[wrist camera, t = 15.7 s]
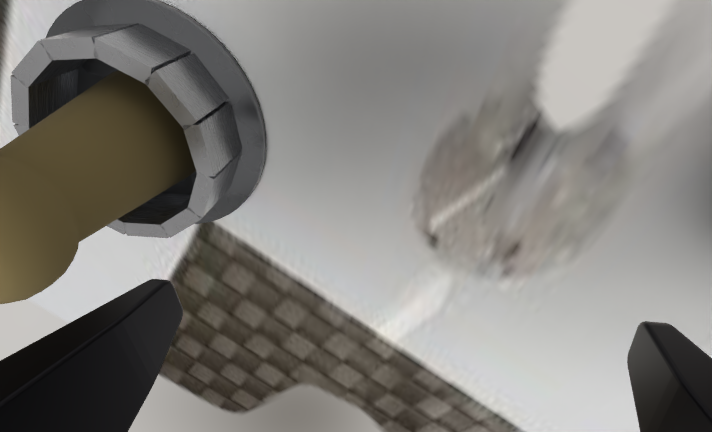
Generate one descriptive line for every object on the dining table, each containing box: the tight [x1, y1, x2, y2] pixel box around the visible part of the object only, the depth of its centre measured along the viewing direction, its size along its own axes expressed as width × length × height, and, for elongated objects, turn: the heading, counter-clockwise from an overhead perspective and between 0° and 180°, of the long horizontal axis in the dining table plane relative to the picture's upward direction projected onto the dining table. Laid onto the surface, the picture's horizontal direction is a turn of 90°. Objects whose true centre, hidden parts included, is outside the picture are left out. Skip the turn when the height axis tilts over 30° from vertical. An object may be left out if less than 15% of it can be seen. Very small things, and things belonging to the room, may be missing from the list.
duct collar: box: [11, 0, 266, 238], centre depth 21 cm, size 12×12×4 cm
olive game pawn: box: [0, 70, 196, 304], centre depth 18 cm, size 6×6×11 cm
